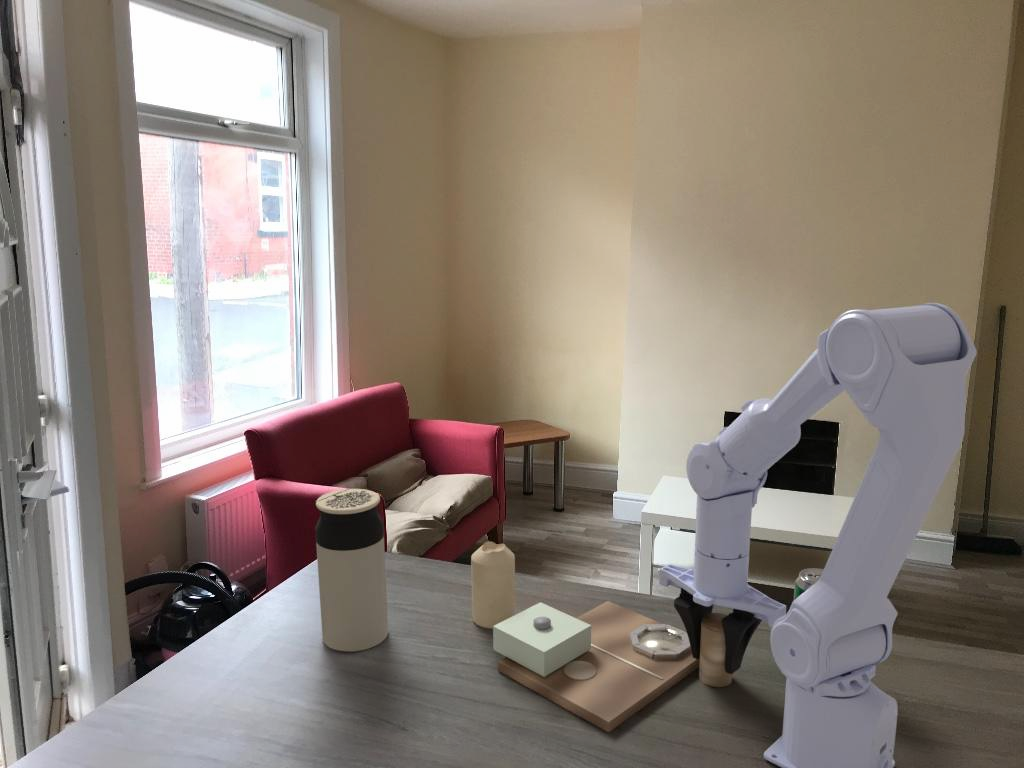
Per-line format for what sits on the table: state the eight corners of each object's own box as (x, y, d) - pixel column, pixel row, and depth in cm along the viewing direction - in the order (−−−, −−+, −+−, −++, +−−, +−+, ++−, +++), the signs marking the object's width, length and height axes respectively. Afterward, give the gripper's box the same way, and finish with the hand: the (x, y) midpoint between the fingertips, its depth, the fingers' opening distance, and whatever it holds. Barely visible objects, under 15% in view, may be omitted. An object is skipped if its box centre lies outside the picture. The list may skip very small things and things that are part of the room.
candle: (466, 613, 107) (464, 541, 105) (504, 604, 109) (503, 534, 107) (482, 633, 102) (481, 558, 100) (522, 623, 104) (521, 550, 102)
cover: (590, 648, 95) (591, 620, 94) (544, 676, 90) (544, 647, 89) (540, 624, 101) (540, 597, 100) (493, 649, 95) (493, 621, 94)
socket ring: (700, 642, 97) (701, 638, 97) (667, 665, 92) (667, 661, 92) (653, 622, 101) (653, 618, 101) (619, 643, 97) (619, 639, 97)
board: (715, 655, 96) (715, 644, 96) (608, 732, 83) (608, 720, 82) (607, 609, 107) (607, 599, 107) (497, 670, 94) (497, 659, 93)
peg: (738, 677, 92) (741, 620, 90) (721, 691, 89) (724, 632, 88) (710, 665, 94) (712, 609, 93) (692, 677, 92) (695, 620, 90)
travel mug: (401, 635, 101) (395, 498, 97) (348, 661, 96) (339, 516, 92) (362, 614, 107) (355, 482, 103) (309, 637, 101) (300, 499, 97)
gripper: (644, 540, 91) (641, 651, 94) (765, 582, 81) (757, 704, 84) (680, 522, 96) (676, 628, 99) (798, 559, 86) (790, 676, 89)
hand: (716, 662), depth 91 cm, fingers closed on peg, 4 cm apart
